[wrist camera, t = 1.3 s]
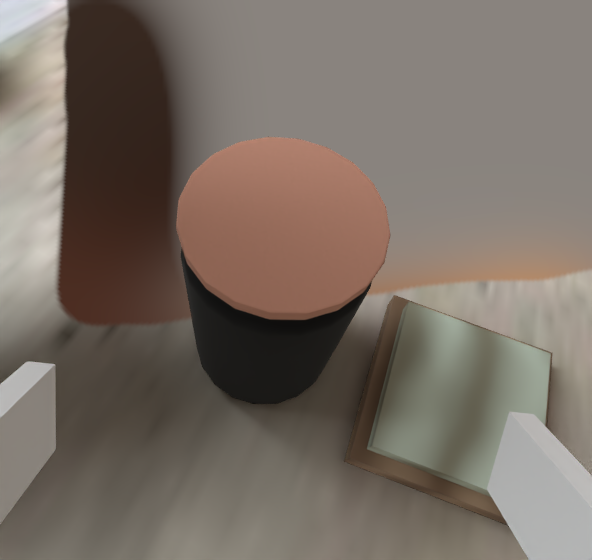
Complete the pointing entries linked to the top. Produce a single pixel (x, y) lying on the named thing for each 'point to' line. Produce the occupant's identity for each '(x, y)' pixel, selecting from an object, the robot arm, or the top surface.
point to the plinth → (444, 403)
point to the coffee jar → (276, 261)
